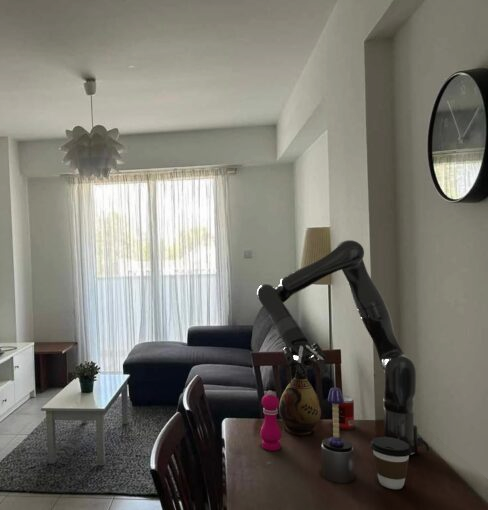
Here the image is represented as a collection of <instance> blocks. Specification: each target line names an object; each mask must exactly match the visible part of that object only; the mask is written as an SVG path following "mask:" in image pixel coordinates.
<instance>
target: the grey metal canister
mask: <svg viewBox="0 0 488 510" xmlns="http://www.w3.org/2000/svg"><path fill="white" fill-rule="evenodd" d="M330 438H331V437H327V438H324V439H323V440H322V442H321V475H322V477H323V478H324V479H326V480H327V481H329V482H330V481H331V482H333V483H339V484H347V483H348V484H349V483H351V482H353V481H354V480H355V477H354V476H355V474H354V473H355V471H354V470H355V469H354V468H355V466H354V446H353V444H352V443H351V442H350V441H349V440H346V439H344V438H341V439H342V440H343V442H344V445H342V446H335V445H331V444H330V443H329V439H330Z"/></svg>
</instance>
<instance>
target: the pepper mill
mask: <svg viewBox="0 0 488 510" xmlns="http://www.w3.org/2000/svg"><path fill="white" fill-rule="evenodd" d="M273 393H274V392H273V391H272V390H270V389H269V390H268V391H267V393H266V394H265V395H263V397H262V398H261V405H262V407H263V408H262V413H263V414H264V420H263V422H262V423H263V424H262V425H261V427H260V428H261V429H260V433H259V435H260V438H261V439H262V440H261V447H262V448H263V449H264V450H266V451H278V450H280V448H281V442H280V441H281V439H282V431H281V429H280V426H279V423H278V421H277V420H278V419H277V415H278V414H279V404H280V400H279V398H278V397H277V395H274V394H273Z"/></svg>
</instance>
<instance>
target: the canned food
mask: <svg viewBox="0 0 488 510" xmlns="http://www.w3.org/2000/svg"><path fill="white" fill-rule="evenodd" d="M343 399H344V403H341V404H339V406H338V408H339V411H338V413H339V416H338V418H339V422H338V423H339V430H352V429H354V426H355V401H354V398H353V397H351V396H348V395H343Z"/></svg>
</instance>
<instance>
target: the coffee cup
mask: <svg viewBox="0 0 488 510" xmlns="http://www.w3.org/2000/svg"><path fill="white" fill-rule="evenodd" d="M369 446H370V448H371V449H372V455H373V461H374V467H375V471H376V473H377V478H378V482H379V484H380V485H381V486H383V487H385V488H387V489H390V490H391V489H392V490H400V489H403V487H404V485H405V481H406V477H407V474H408V468H409V462H410V456H409V455H410V454H411V453H412V450H411V448H410V446H409V444H407V443H406V442H404V441H402V440H399V439H395V438H391V437H383V436H377V437H374V438H373V439H371V442H370V443H369Z"/></svg>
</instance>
